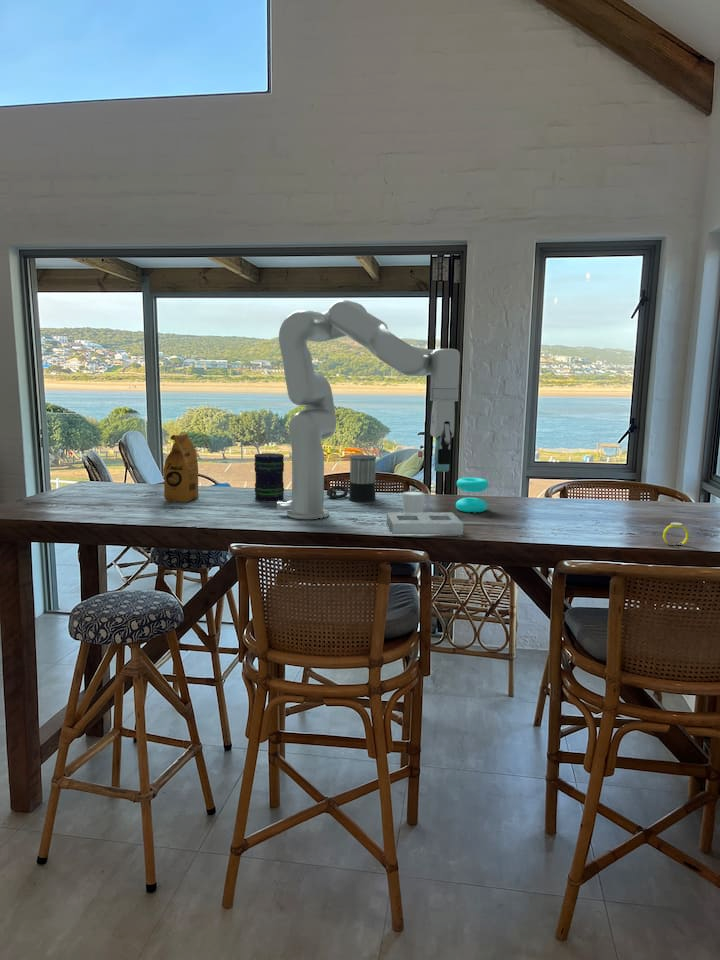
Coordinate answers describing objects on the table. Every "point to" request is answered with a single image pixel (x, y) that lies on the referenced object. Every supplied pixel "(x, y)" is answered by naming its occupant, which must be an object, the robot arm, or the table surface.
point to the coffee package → (181, 471)
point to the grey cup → (413, 501)
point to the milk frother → (359, 480)
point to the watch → (676, 526)
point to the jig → (424, 523)
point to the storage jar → (269, 477)
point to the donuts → (472, 486)
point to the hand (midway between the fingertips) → (442, 462)
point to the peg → (437, 466)
